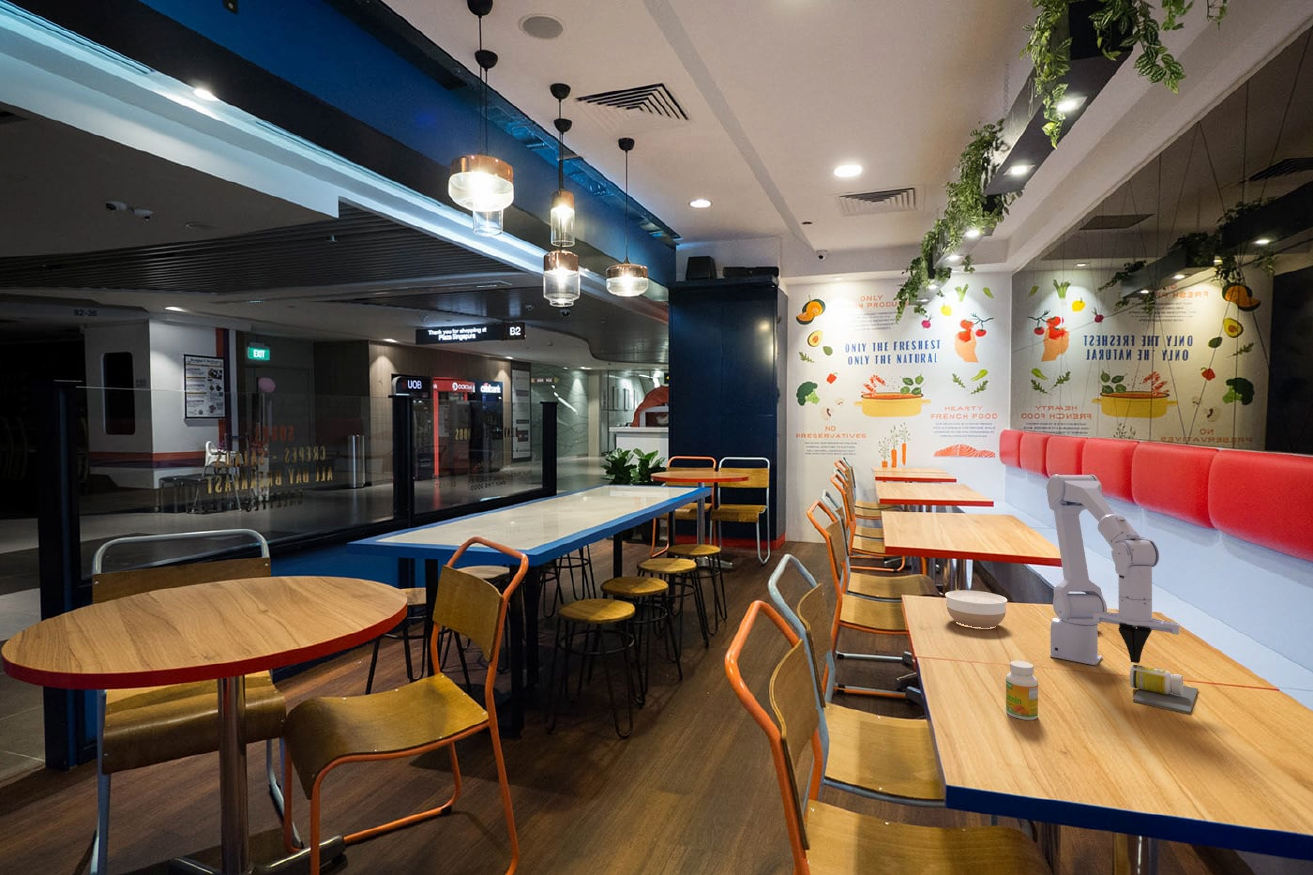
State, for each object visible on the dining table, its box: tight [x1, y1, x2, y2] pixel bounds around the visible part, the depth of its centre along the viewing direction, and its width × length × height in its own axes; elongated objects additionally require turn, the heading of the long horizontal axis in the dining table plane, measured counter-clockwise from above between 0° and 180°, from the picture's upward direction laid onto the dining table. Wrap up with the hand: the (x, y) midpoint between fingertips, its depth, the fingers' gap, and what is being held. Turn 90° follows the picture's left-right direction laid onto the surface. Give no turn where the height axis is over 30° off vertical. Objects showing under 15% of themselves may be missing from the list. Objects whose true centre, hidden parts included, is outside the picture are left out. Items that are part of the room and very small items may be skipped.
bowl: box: [944, 589, 1008, 628], centre depth 188 cm, size 16×16×8 cm
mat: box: [1132, 685, 1199, 715], centre depth 135 cm, size 9×16×1 cm, turn 137°
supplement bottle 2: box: [1129, 663, 1184, 695], centre depth 136 cm, size 5×5×8 cm
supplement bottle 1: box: [1005, 660, 1039, 721], centre depth 126 cm, size 5×5×10 cm
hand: (1135, 661), depth 139 cm, fingers closed
